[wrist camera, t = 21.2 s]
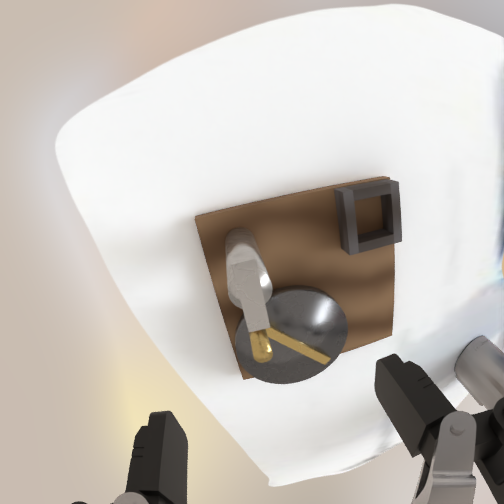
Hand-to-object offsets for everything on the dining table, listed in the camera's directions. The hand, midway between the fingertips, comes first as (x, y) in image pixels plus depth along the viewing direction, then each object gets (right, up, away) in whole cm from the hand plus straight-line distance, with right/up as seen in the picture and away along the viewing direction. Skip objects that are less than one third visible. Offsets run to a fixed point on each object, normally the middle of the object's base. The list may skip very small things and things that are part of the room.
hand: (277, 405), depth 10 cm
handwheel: (+3, -3, +21) cm, 21 cm away
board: (+6, +2, +22) cm, 23 cm away
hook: (-2, +7, +18) cm, 19 cm away
